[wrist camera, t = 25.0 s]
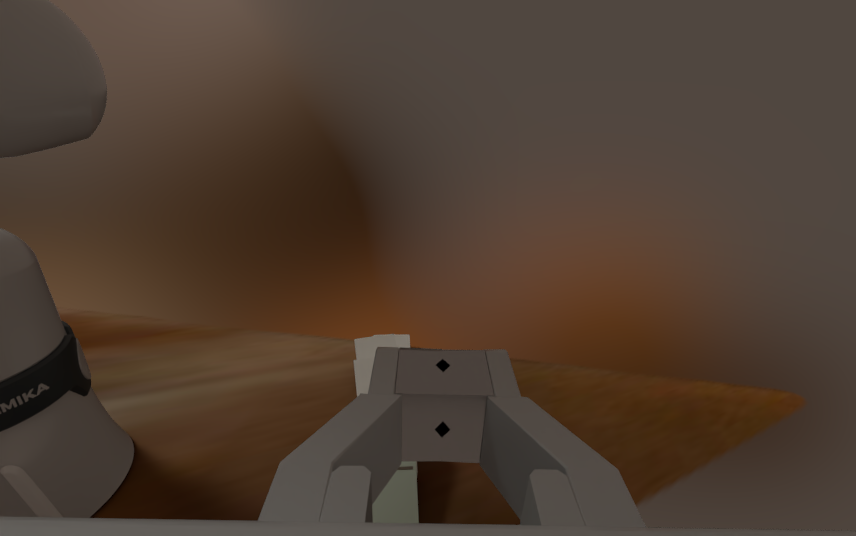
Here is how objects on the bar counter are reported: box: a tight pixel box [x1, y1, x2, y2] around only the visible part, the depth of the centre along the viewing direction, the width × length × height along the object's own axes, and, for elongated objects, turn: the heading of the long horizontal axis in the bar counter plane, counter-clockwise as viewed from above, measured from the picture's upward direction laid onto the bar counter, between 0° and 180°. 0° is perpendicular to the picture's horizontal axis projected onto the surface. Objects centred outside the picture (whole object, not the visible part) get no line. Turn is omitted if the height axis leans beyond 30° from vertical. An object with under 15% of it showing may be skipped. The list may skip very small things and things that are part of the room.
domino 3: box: [372, 461, 419, 523], centre depth 37 cm, size 2×5×9 cm
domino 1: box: [354, 357, 375, 397], centre depth 46 cm, size 2×5×9 cm
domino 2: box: [354, 334, 397, 360], centre depth 50 cm, size 2×5×9 cm
